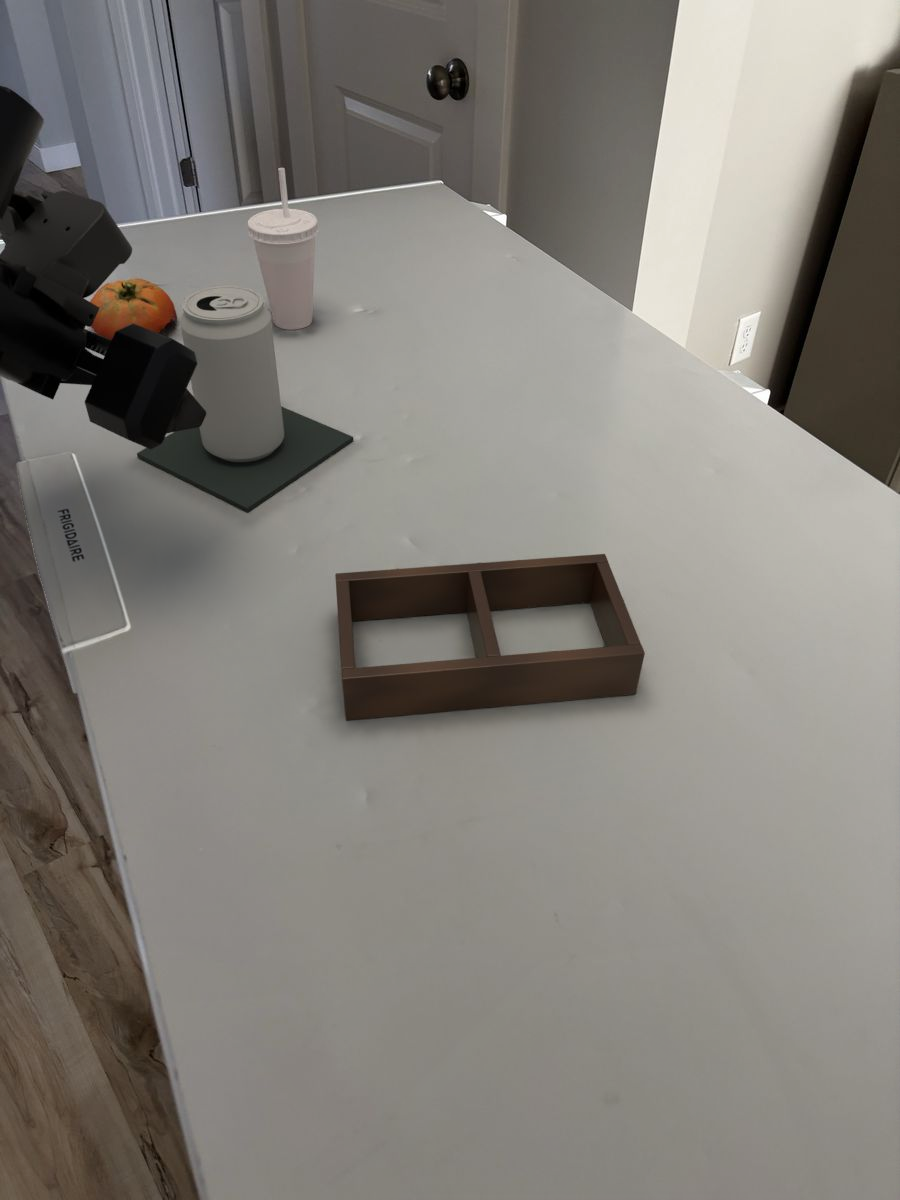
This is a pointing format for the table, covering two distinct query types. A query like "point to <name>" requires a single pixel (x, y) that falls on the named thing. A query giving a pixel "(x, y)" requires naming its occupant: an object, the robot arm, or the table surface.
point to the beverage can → (234, 371)
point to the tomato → (131, 307)
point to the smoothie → (286, 260)
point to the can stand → (487, 636)
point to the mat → (248, 479)
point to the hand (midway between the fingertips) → (154, 397)
